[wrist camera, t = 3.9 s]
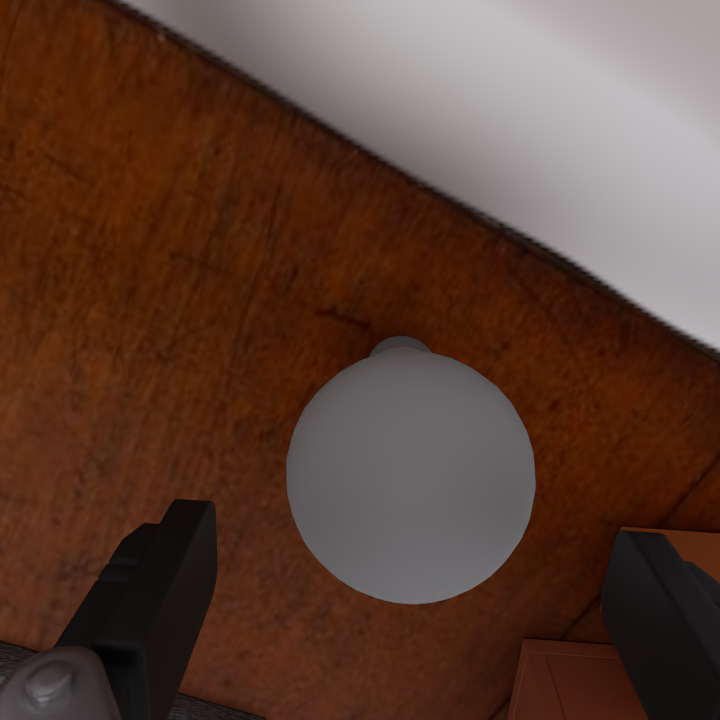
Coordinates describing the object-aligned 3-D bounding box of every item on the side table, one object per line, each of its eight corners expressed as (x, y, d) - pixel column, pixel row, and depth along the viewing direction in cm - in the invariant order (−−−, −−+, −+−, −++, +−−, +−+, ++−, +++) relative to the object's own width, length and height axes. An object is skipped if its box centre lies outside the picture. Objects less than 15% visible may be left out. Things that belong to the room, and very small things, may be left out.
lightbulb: (444, 253, 20) (505, 366, 10) (504, 396, 22) (608, 614, 12) (291, 322, 22) (208, 487, 11) (361, 453, 23) (345, 697, 13)
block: (727, 533, 24) (801, 616, 20) (699, 616, 26) (761, 709, 22) (620, 525, 24) (669, 606, 20) (598, 609, 26) (639, 700, 22)
